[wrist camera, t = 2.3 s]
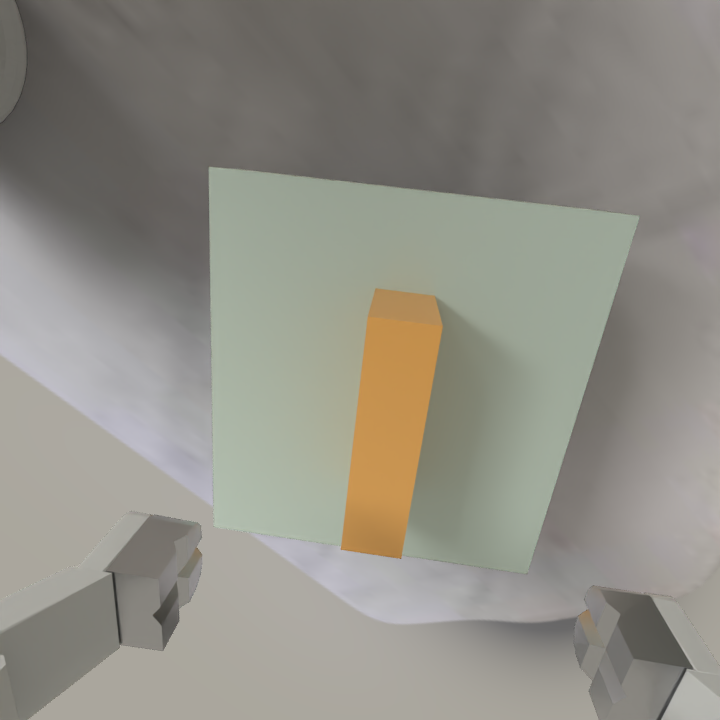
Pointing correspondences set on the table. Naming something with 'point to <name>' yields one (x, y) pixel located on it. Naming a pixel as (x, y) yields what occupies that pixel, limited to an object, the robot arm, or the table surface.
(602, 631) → the robot arm
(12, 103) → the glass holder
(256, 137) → the table surface
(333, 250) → the lid
